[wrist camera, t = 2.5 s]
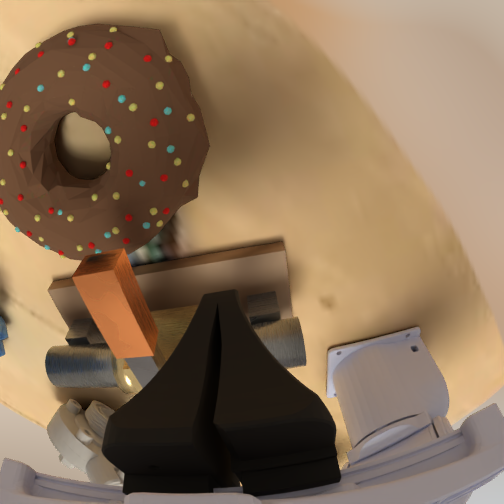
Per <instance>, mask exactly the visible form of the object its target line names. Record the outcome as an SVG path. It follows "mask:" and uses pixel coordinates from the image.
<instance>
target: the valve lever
mask: <svg viewBox="0 0 504 504" xmlns="http://www.w3.org/2000/svg"><path fill="white" fill-rule="evenodd" d="M72 279H73V281H74V283H75V285H76V287H77V289H78V291H79V293H80V295H81V297H82V299H83V301H84V303H85V305H86V306H87V308H88V310H89V312H90V314H91V316H92V318H93V319H94V321H95V323H96V325H97V327H98V328H99V330H100V332H101V334H102V335H103V337H104V339H105V340H106V342H107V344H108V346H109V347H110V349H111V351H112V352H113V354H114V355H115V357H116V359H120V358H124V359H125V361H126V363H127V364H128V366H129V367H130V369H131V371H132V372H133V374H134V375H135V377H136V378H137V380H138V382H139V383H140V385H141V386H142V388H144V387H145V386H146V385H147V384H148V383H149V382H150V380H151V379H152V378H153V377H154V376H155V375H156V374H157V372H158V371H159V370H160V369H161V368H162V366H163V365H164V364H165V362H166V359H165V357H164V355H163V353H162V351H161V349H160V347H159V345H158V343H157V337H158V328H157V326H156V324H155V322H154V320H153V317H152V315H151V313H150V310H149V308H148V306H147V304H146V301H145V299H144V296H143V294H142V292H141V289H140V287H139V284H138V282H137V280H136V277H135V275H134V272H133V270H132V267H131V264H130V262H129V259H128V257H127V254H126V251H125V249H124V248H121V249H116V250H111V251H106V252H101V253H96V254H91V255H86V256H85V257H84V258H83V260H82V262H81V263H80V265H79V266H78V268H77V270H76V271H75V273H74V275H73V276H72Z"/></svg>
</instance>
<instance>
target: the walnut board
mask: <svg viewBox="0 0 504 504" xmlns="http://www.w3.org/2000/svg"><path fill="white" fill-rule="evenodd" d="M132 270H133V272H134V275H135V277H136V280H137V282H138V284H139V287H140V289H141V292H142V294H143V296H144V299H145V301H146V304H147V306H148V308H149V310H150V312H152V311H159V310H166V309H174V308H181V307H187V306H194V305H199V303H200V301H201V298H202V296H203V295H204V294H207V293H213V292H220V291H226V290H232V289H236V290H237V291H238V293H239V297H240V302H241V306H242V308H243V310H244V312H245V315H246V316H247V318H248V320H249V322H250V319H249V311H248V302H247V296H248V295H254V294H260V293H266V292H272V291H275V292H276V296H277V301H278V305H279V309H280V316H281V319H287V318H292V308H291V298H290V288H289V279H288V269H287V260H286V251H285V248H284V245H283V242H276V243H270V244H264V245H258V246H252V247H247V248H241V249H235V250H229V251H223V252H217V253H212V254H206V255H200V256H194V257H188V258H183V259H177V260H171V261H165V262H160V263H154V264H148V265H143V266H137V267H132ZM48 292H49V294H50V296H51V298H52V300H53V301H54V303H55V305H56V307H57V309H58V310H59V312H60V314H61V316H62V317H63V319H64V321H65V322H66V324H67V326H68V327H69V329H70V327H71V325H72V323H73V320H75V319H84V318H92V316H91V314H90V312H89V310H88V308H87V306H86V305H85V303H84V301H83V299H82V297H81V295H80V293H79V291H78V289H77V287H76V285H75V283H74V281H73V279H72V278H69V279H63V280H58V281H53V282H52V284H51V285H50V287H49V289H48ZM250 324H251V323H250Z"/></svg>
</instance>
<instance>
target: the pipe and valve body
mask: <svg viewBox="0 0 504 504" xmlns="http://www.w3.org/2000/svg"><path fill="white" fill-rule="evenodd" d="M247 302H248V311H249V319H250V323H251V326H252V327H253V329H254V331H255V332H256V334H257V335H258V337H259V338H260V339H261V341H262V342H263V344H264V345H265V346H266V347H267V349H268V350H269V351H270V352H271V354H272V355H273V356H274V357H275V358H276V359H277V360H278V362H279V363H280V364H281V365H282V366H284V367H285V368H286V369H290V368H295V367H301V366H306V353H305V345H304V339H303V334H302V330H301V326H300V322H299V319H298V317H292V318H287V319H281V316H280V309H279V305H278V301H277V296H276V292H275V291H272V292H266V293H260V294H254V295H248V296H247ZM197 308H198V305H194V306H187V307H181V308H174V309H166V310H159V311H152V312H150V313H151V315H152V317H153V320H154V322H155V324H156V326H157V328H158V337H157V343H158V345H159V347H160V349H161V351H162V353H163V355H164V357H165V359H166V361H167V360H168V358H169V357H170V356H171V354H172V353H173V351H174V350H175V348H176V347H177V345H178V343H179V342H180V340H181V338H182V337H183V335H184V333H185V331H186V330H187V328H188V326H189V324H190V322H191V320H192V318H193V316H194V314H195V312H196V310H197ZM65 339H66V341H67V342H68V344H69V345H66V346H53V347H51V348H50V349H49V350H48V352H47V355H46V360H45V366H46V372H47V375H48V377H49V379H50V381H51V382H52V383H53V384H54V385H55V386H56V387H70V388H100V387H119V388H120V389H121V390H122V391H123V392H124V393H126V394H137V393H138V392H140V391H141V390H142V389H143V388H142V386H141V385H140V383H139V382H138V380H137V378H136V377H135V375H134V374H133V372H132V371H131V369H130V367H129V366H128V364H127V363H126V361H125V359H124V358H120V359H116V357H115V355H114V354H113V352H112V351H111V349H110V347H109V346H108V344H107V342H106V340H105V339H104V337H103V335H102V334H101V332H100V330H99V328H98V327H97V325H96V323H95V321H94V319H93V318H84V319H75V320H73V323H72V325H71V327H70V329H69V331H68V333H67V336H66V338H65Z"/></svg>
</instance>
